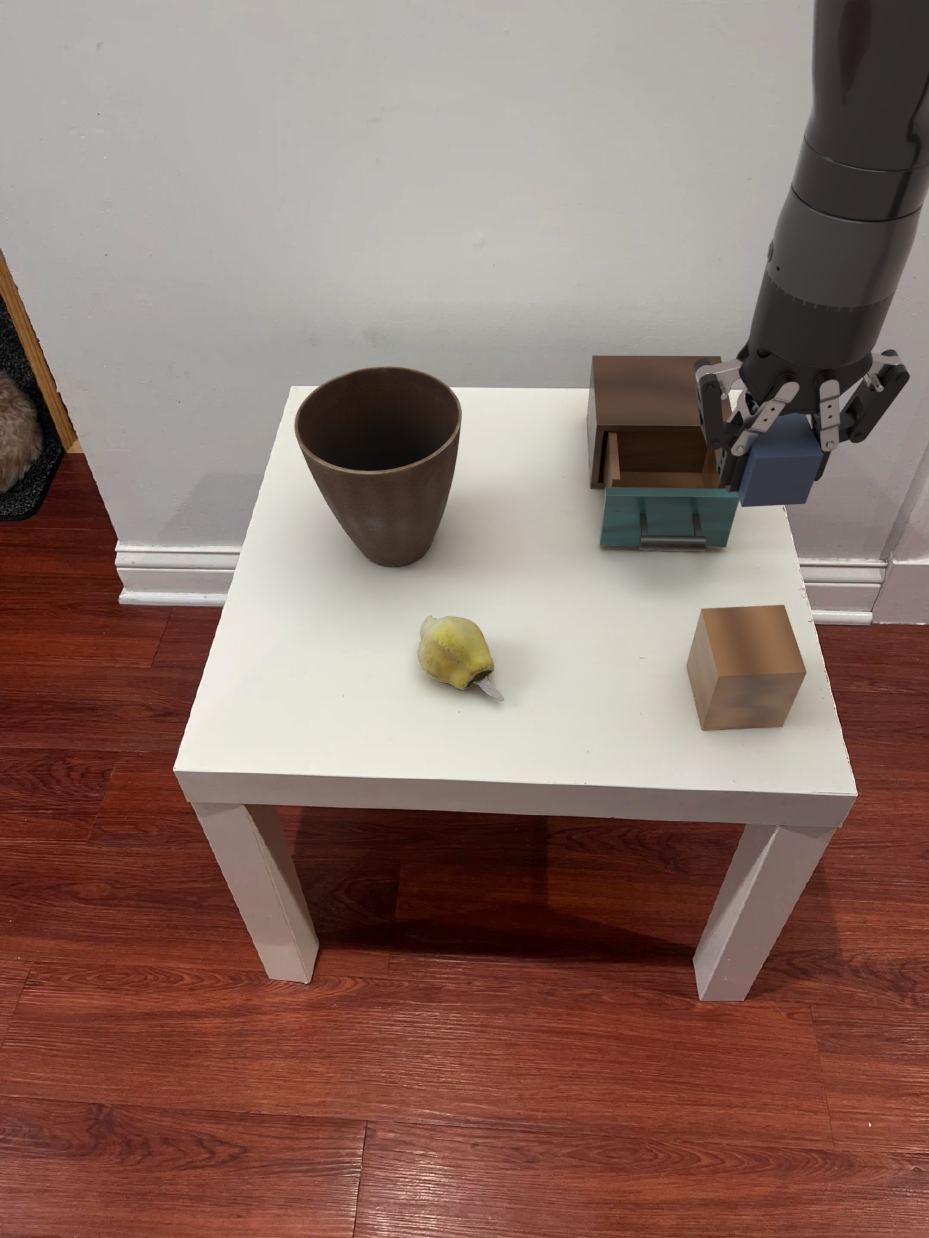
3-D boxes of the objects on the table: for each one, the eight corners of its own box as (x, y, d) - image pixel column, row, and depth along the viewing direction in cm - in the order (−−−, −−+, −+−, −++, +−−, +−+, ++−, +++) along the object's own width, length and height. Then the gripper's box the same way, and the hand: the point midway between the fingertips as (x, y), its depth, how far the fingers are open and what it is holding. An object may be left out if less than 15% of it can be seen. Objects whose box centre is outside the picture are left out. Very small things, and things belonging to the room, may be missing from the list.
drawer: (731, 580, 89) (746, 530, 83) (601, 577, 89) (608, 528, 84) (713, 475, 98) (725, 424, 93) (595, 474, 98) (601, 423, 93)
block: (788, 461, 69) (804, 411, 65) (805, 504, 66) (823, 454, 62) (726, 464, 69) (739, 414, 65) (741, 507, 66) (756, 458, 62)
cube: (763, 661, 83) (784, 604, 77) (783, 726, 79) (807, 672, 73) (686, 664, 84) (701, 608, 77) (701, 730, 79) (718, 676, 73)
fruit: (479, 729, 80) (393, 662, 83) (517, 696, 84) (434, 633, 87) (498, 685, 76) (408, 616, 79) (537, 653, 80) (450, 588, 83)
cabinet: (719, 490, 98) (735, 426, 91) (590, 488, 98) (596, 424, 92) (706, 420, 105) (720, 355, 98) (586, 419, 106) (592, 355, 99)
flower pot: (325, 606, 89) (296, 483, 77) (317, 500, 99) (291, 375, 86) (477, 585, 90) (474, 461, 78) (455, 483, 100) (449, 357, 87)
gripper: (726, 308, 52) (678, 524, 65) (979, 296, 52) (880, 514, 65) (698, 239, 56) (658, 454, 70) (930, 228, 57) (846, 444, 70)
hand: (766, 482), depth 67 cm, fingers closed on block, 4 cm apart
